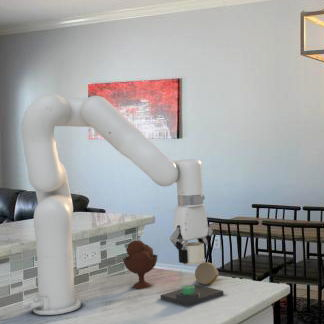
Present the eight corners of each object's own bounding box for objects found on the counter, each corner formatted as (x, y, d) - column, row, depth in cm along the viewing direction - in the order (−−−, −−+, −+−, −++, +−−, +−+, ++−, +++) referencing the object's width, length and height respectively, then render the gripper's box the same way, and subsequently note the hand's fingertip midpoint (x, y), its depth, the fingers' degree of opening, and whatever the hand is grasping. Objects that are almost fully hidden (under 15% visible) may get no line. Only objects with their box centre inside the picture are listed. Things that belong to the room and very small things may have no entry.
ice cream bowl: (152, 291, 168) (150, 243, 167) (118, 290, 170) (116, 243, 169) (164, 282, 178) (162, 237, 178) (132, 282, 180) (130, 237, 180)
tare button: (187, 296, 151) (187, 289, 151) (179, 294, 153) (179, 287, 153) (197, 293, 154) (197, 286, 154) (188, 291, 156) (188, 284, 156)
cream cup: (192, 266, 157) (191, 247, 156) (177, 263, 161) (176, 245, 161) (209, 261, 162) (208, 243, 162) (194, 259, 166) (193, 241, 166)
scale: (187, 308, 149) (187, 297, 149) (158, 300, 158) (158, 290, 157) (225, 295, 160) (225, 285, 160) (196, 289, 168) (195, 279, 168)
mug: (224, 278, 181) (224, 256, 176) (212, 298, 173) (212, 275, 168) (203, 272, 183) (203, 249, 178) (190, 291, 176) (190, 268, 170)
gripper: (203, 197, 170) (205, 254, 170) (159, 203, 157) (162, 264, 158) (220, 198, 165) (222, 256, 165) (176, 204, 152) (178, 267, 153)
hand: (193, 260), depth 161 cm, fingers closed on cream cup, 6 cm apart
